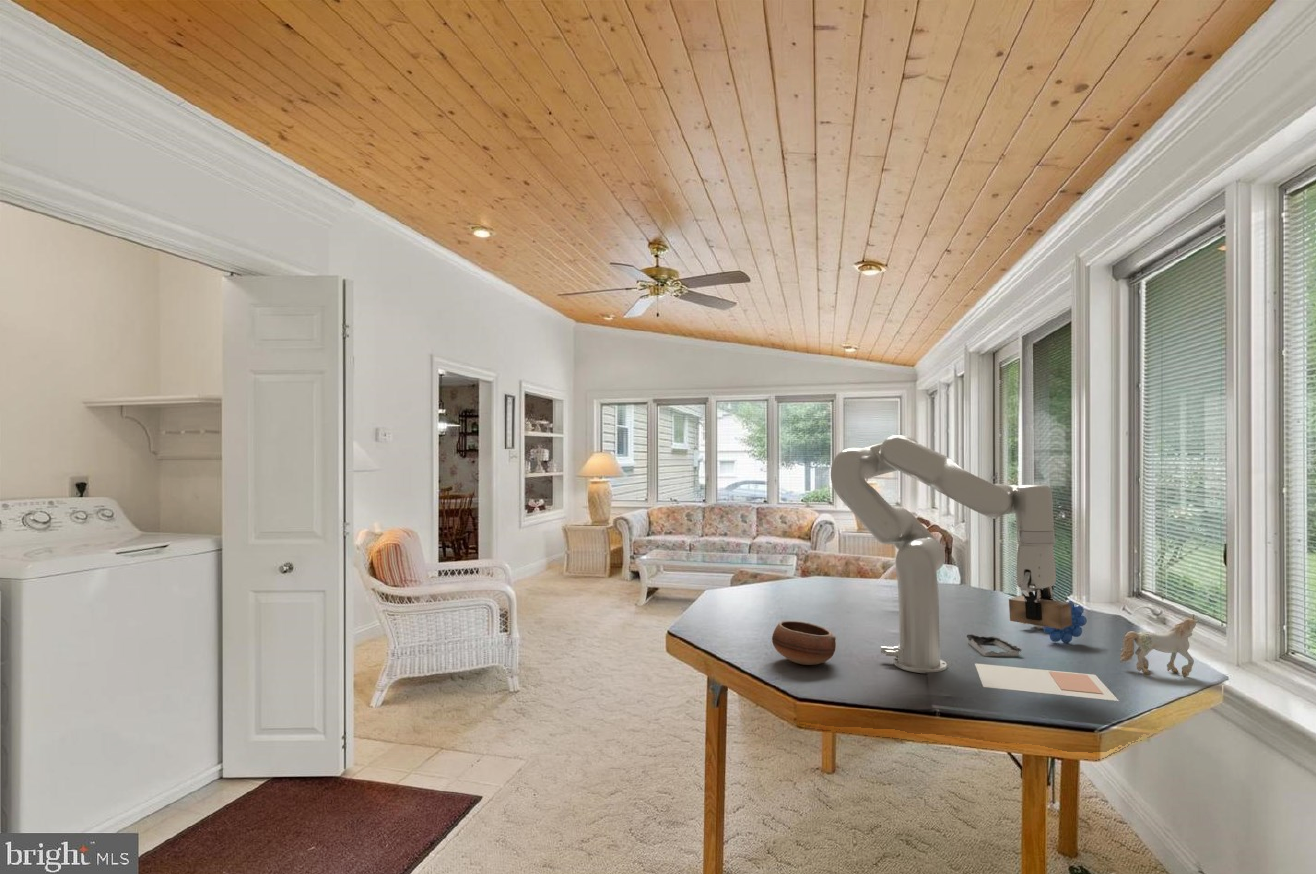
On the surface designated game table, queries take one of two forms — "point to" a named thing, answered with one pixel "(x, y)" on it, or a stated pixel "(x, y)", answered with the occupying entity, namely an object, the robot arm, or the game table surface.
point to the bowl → (803, 642)
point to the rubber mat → (1044, 681)
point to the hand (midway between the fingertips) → (1040, 616)
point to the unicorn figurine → (1161, 645)
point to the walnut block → (1052, 613)
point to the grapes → (1070, 630)
